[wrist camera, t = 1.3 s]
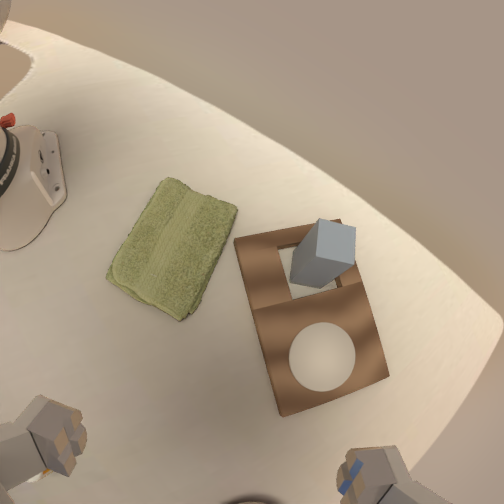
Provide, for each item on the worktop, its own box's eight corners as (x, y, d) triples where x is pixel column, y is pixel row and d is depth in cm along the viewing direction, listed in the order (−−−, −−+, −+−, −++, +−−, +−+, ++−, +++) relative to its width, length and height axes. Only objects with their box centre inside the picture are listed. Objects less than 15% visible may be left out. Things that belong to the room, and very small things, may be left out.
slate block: (289, 282, 43) (315, 256, 33) (293, 252, 45) (319, 218, 35) (320, 288, 44) (354, 264, 34) (323, 258, 45) (355, 227, 35)
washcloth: (104, 283, 40) (97, 277, 37) (165, 180, 46) (163, 168, 43) (189, 327, 40) (188, 324, 37) (244, 215, 46) (247, 205, 43)
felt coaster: (280, 333, 39) (281, 333, 39) (342, 315, 41) (344, 314, 41) (298, 400, 37) (300, 401, 36) (360, 377, 39) (362, 377, 38)
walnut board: (233, 242, 44) (234, 238, 43) (336, 223, 48) (340, 218, 46) (280, 415, 37) (283, 417, 36) (384, 376, 41) (389, 376, 39)
